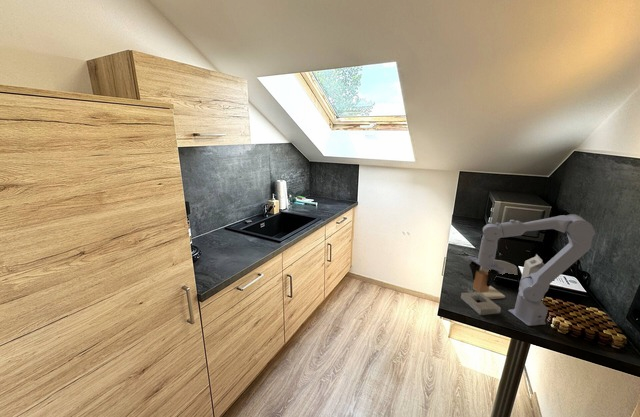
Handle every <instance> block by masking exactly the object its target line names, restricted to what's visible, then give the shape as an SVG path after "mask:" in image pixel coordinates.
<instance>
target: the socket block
mask: <svg viewBox="0 0 640 417" xmlns="http://www.w3.org/2000/svg"><path fill="white" fill-rule="evenodd" d="M460 299H461V300H462V301H463V302H464V303H466V304H467V305H468V306H469V307H470V308H471V309H473V311H475V312H476V313H477V315H480V316H485V315H486V316H487V315H495V314H501V309H502V307H501V306H499V305H498V304H497V303H495V302H494V301H493V300H492V299H489V298H487V297H486V296H485V295H483V294H482V293H480V292H477V291H472V292H471V291H470V292H468V291H467V292H461V295H460ZM477 301H479V302H477Z"/></svg>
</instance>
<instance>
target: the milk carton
mask: <svg viewBox="0 0 640 417" xmlns="http://www.w3.org/2000/svg"><path fill="white" fill-rule="evenodd" d="M545 264H546V263H544V262H543V259H542V258H541V257H540V256H539V255H538V254H537V253H536V254H535V256H534V257H531V258H529V259H527V260H525V261H524V265H523V267H522V268H523V270H522V272H521V278H520V280H521V279H522V278H524V277H527V276H529V275H530V274H531V273H536V272H538V271H539V270H540V269H541V268H542V267H543V266H544V265H545ZM521 289H522V288H521V286H520V285H519V287H518V292H519V291H520V290H521Z"/></svg>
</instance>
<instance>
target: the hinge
mask: <svg viewBox="0 0 640 417" xmlns="http://www.w3.org/2000/svg"><path fill="white" fill-rule="evenodd" d="M494 264H496V265H498V266H500V267H502V268H504V269H506V271H505V273H508V274H514V275H518V267H517V266H516V265H515V264H513V263H510V262H508V261H505V260H500V259H495V261H494ZM479 270H485V271H487V272H488V271H489V270H491V269H488V268H486V267H483V266H480V269H479Z"/></svg>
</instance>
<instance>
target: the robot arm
mask: <svg viewBox="0 0 640 417" xmlns="http://www.w3.org/2000/svg"><path fill="white" fill-rule="evenodd" d="M481 229H482V234H483V235H482V237H481V241H480V245H479V252H478V257H476V256H471V255H468V256H467V257H466V262H470V263H469V268H470V270H471V276H472V280H473V281H474V279H475V273H476V271H479V270H480V268H481V266H483V267H486V268H488V269H491V270H490V271H488V281H487V286H488V287H489V286H492V285H493V282H494V281H495V278H496V277H497V275H498V274H502V275H503V274H505V271H506V269H504V268H502V267H500V266H498V265H496V264H494V261H495V260H496V253H497V250H498V244H499V243H498V242H499V240H500V239H501V238H510V237H518V236H519V237H520V236H522V235H523V234H525V233H526V232H533V231H542V230H555V231H558V232H561V233H564V234H565V233H566V235H567V239H568V243H567V244H566V245H564V246H563V248H561V250H560V251H558V252H557V253H556V254H555V255H554V256H553V257H551V258H550V260H548V261H547V262H546V263H544V264H545V265H544V266H543V267H542V268H541V269H540V270H539V271H538V272H536V273H531V274H530V275H529V276H527V277H524V278H522V279H521V278H520V280H519V286H521V288H522V289H521V290H520V291H519V290H518V293H517V296H516V301H515V306H514V308H512V309H508V310H507V311H508V312H509V313H510V314H512V315H513V316H514V317H515V318H517V319H519V320H520V321H522V322H523V323H524V324H525V325H527V327H529V326H530V327H531V326H540V325H542V326H543V325H546V317H547V314H548V307H547V306H546V305H545V304H544V303H543V300H542V299H544V297H545V295H546V293H547V292H548V291H549V288H550V286H551V284H552V282H553V281H555V280H556V279H557V278H558V277H559V276H561V275H562V274H563V273H564V272H565V271H567V270H568V269H569V268H570V267H571V266H572V265H574V264H575V262H577V261H579V259H581V257H583V256H584V255H585V254H586V253H587V252H589V251H590V249H591V247H592V243H593V239H594V238H593V237H594V236H595V235H596V232H595V229H594V227H593V224H592V223H590V221H587V220H585V219H584V218H583V217H582V216H580V215H578V214H575V213H571V214H567V215H565V214H563V215H561V214H560V215H557V216H551V217H547V218H542V219H537V220H536V219H535V220H531V221H526V222H522V221H520V220H514V219H510V220H509V221H507V222H495V223H487V224H485V225H484V226H483V227H482V228H481ZM541 300H542V301H541Z"/></svg>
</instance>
